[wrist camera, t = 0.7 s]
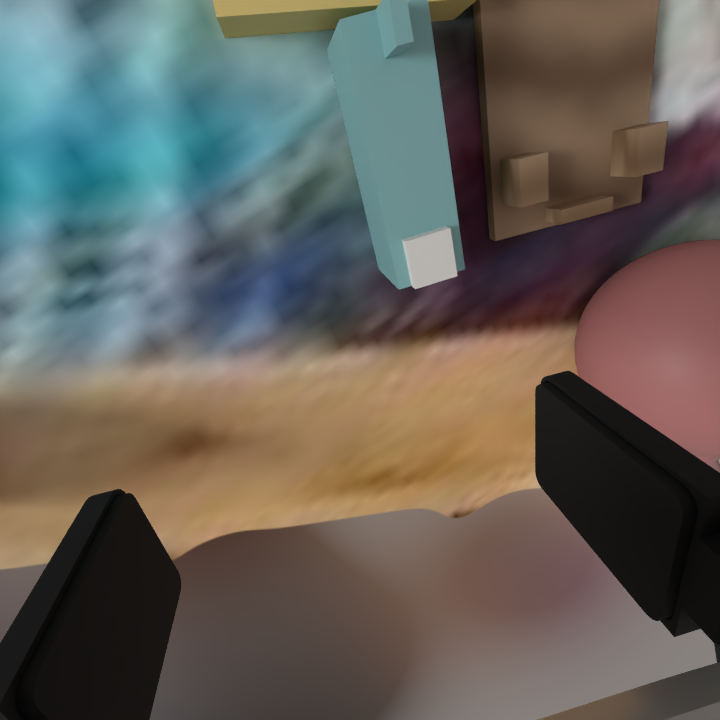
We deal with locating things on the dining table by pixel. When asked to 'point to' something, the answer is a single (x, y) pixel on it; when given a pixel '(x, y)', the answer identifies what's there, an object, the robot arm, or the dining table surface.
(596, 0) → the jig
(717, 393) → the balloon
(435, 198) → the teal notched block
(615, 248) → the dining table surface
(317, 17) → the tan wooden bar
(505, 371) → the dining table surface
